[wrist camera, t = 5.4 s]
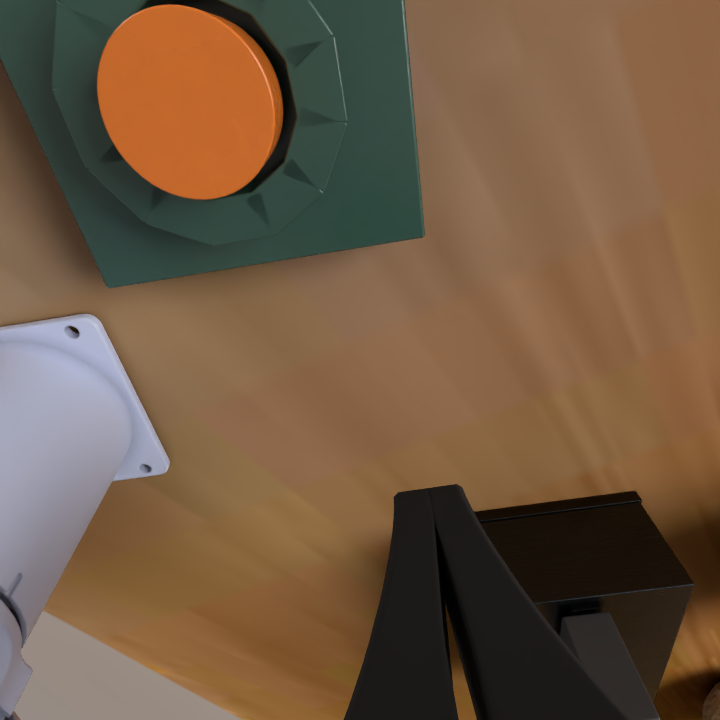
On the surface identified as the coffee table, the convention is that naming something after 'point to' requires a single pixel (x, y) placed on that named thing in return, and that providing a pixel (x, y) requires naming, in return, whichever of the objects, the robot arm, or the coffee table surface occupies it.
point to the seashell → (712, 704)
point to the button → (189, 101)
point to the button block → (281, 171)
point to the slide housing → (598, 570)
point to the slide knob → (608, 661)
